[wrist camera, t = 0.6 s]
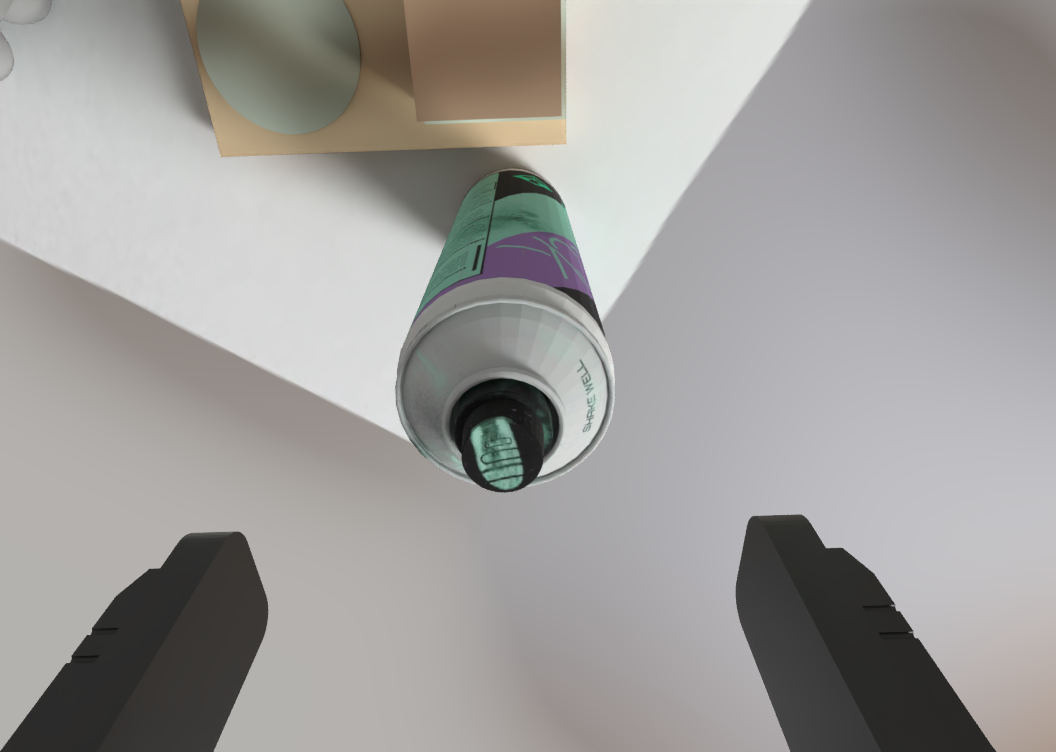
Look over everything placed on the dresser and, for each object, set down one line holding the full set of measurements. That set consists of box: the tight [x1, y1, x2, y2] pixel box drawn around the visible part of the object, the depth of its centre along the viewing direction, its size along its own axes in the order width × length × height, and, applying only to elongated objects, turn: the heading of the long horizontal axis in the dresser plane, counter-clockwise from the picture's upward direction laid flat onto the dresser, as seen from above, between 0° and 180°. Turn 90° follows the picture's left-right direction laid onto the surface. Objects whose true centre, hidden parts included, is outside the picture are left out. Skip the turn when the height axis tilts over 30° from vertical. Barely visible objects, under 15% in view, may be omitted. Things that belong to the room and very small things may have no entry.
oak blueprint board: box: [180, 0, 566, 157], centre depth 25 cm, size 8×15×3 cm, turn 92°
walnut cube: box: [403, 0, 562, 122], centre depth 21 cm, size 5×5×5 cm
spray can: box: [395, 168, 615, 492], centre depth 21 cm, size 6×6×20 cm
